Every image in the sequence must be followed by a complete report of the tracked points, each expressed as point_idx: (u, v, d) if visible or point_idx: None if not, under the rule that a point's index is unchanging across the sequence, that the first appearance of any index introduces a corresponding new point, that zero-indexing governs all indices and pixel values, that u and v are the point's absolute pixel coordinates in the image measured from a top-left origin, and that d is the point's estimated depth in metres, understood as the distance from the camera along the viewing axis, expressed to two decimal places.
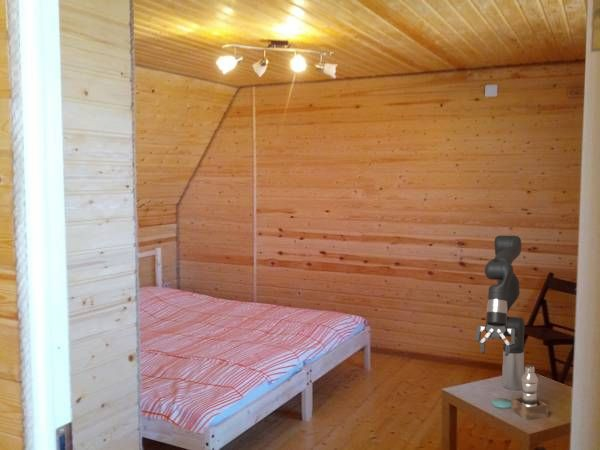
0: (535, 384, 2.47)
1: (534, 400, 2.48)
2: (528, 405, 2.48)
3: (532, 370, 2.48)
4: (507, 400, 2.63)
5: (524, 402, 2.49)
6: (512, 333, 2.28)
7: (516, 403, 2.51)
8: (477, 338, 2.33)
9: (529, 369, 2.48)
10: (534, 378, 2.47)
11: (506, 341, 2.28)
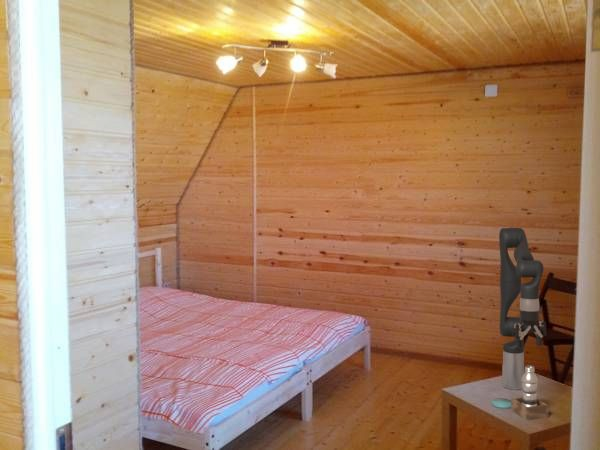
0: (535, 384, 2.47)
1: (534, 400, 2.48)
2: (528, 405, 2.48)
3: (532, 370, 2.48)
4: (507, 400, 2.63)
5: (524, 402, 2.49)
6: (544, 326, 2.48)
7: (516, 403, 2.51)
8: (517, 336, 2.46)
9: (529, 369, 2.48)
10: (534, 378, 2.47)
11: (540, 334, 2.48)
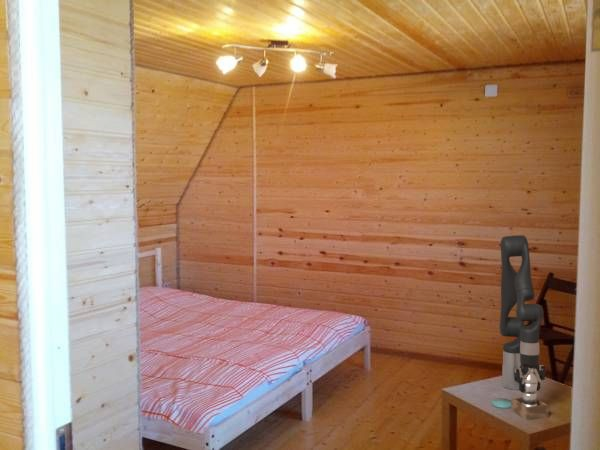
0: (535, 384, 2.47)
1: (534, 400, 2.48)
2: (528, 405, 2.48)
3: (532, 370, 2.48)
4: (507, 400, 2.63)
5: (524, 402, 2.49)
6: (544, 370, 2.50)
7: (516, 403, 2.51)
8: (519, 380, 2.47)
9: None
10: (534, 378, 2.47)
11: (538, 378, 2.49)
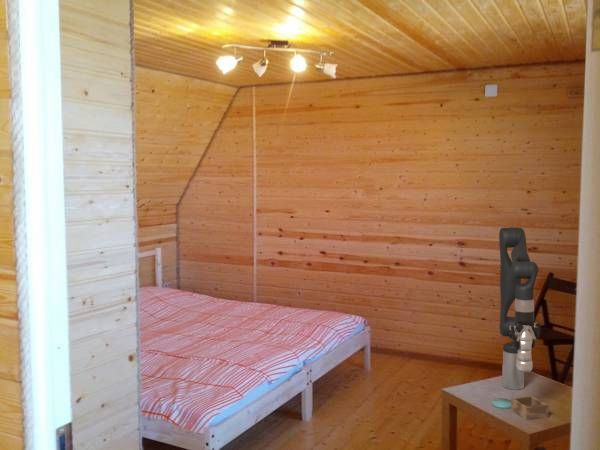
0: (530, 341, 2.48)
1: (528, 357, 2.49)
2: (523, 362, 2.49)
3: (527, 327, 2.48)
4: (507, 400, 2.63)
5: (519, 359, 2.50)
6: (538, 328, 2.51)
7: (516, 403, 2.51)
8: (514, 338, 2.48)
9: None
10: (529, 336, 2.48)
11: (533, 336, 2.50)
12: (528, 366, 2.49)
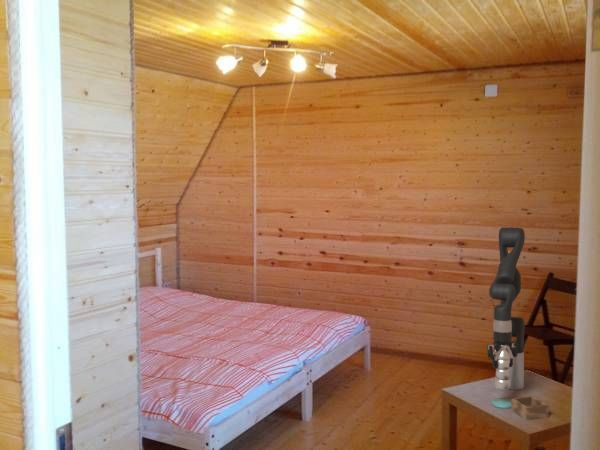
0: (507, 360, 2.57)
1: (506, 375, 2.58)
2: (501, 381, 2.58)
3: (505, 347, 2.58)
4: (507, 400, 2.63)
5: (497, 378, 2.59)
6: (516, 347, 2.60)
7: (516, 403, 2.51)
8: (492, 357, 2.57)
9: None
10: (506, 355, 2.57)
11: (511, 355, 2.59)
12: (505, 384, 2.58)
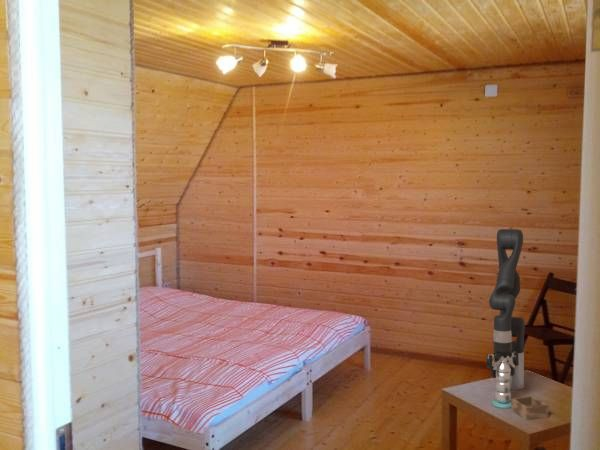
0: (508, 373, 2.58)
1: (507, 388, 2.59)
2: (501, 393, 2.59)
3: (505, 360, 2.58)
4: None
5: (497, 391, 2.60)
6: (516, 356, 2.60)
7: (516, 403, 2.51)
8: (490, 366, 2.57)
9: None
10: (507, 368, 2.58)
11: (512, 364, 2.60)
12: (506, 397, 2.58)
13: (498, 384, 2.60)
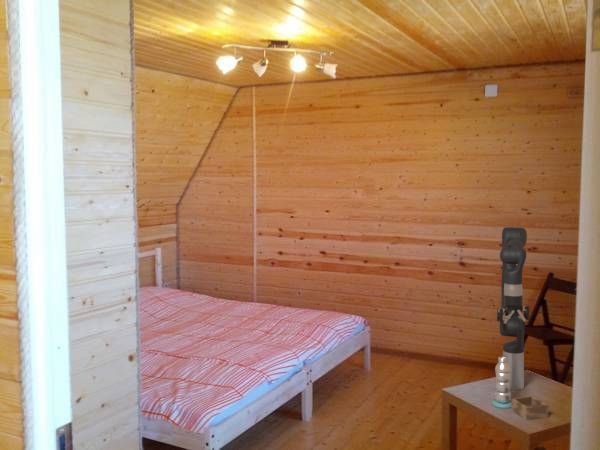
0: (508, 373, 2.58)
1: (506, 388, 2.59)
2: (501, 393, 2.59)
3: (505, 360, 2.58)
4: None
5: (497, 391, 2.60)
6: (527, 310, 2.59)
7: (516, 403, 2.51)
8: (501, 320, 2.56)
9: (502, 359, 2.58)
10: (507, 368, 2.58)
11: (523, 318, 2.59)
12: (506, 397, 2.58)
13: (498, 384, 2.60)
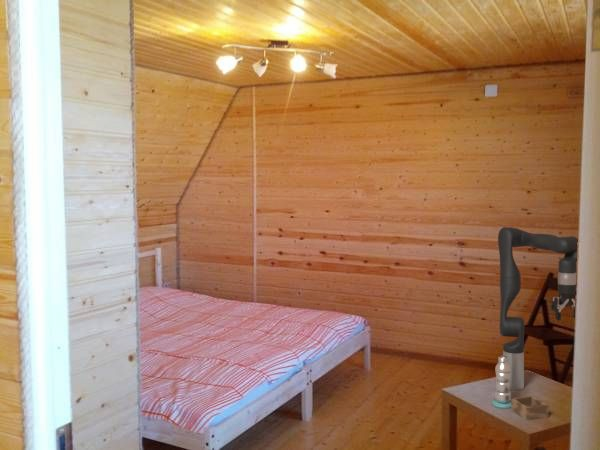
0: (508, 373, 2.58)
1: (507, 388, 2.59)
2: (501, 393, 2.59)
3: (505, 360, 2.58)
4: None
5: (497, 391, 2.60)
6: None
7: (516, 403, 2.51)
8: (555, 309, 2.58)
9: (502, 359, 2.58)
10: (507, 368, 2.58)
11: None
12: (506, 397, 2.58)
13: (498, 384, 2.60)
